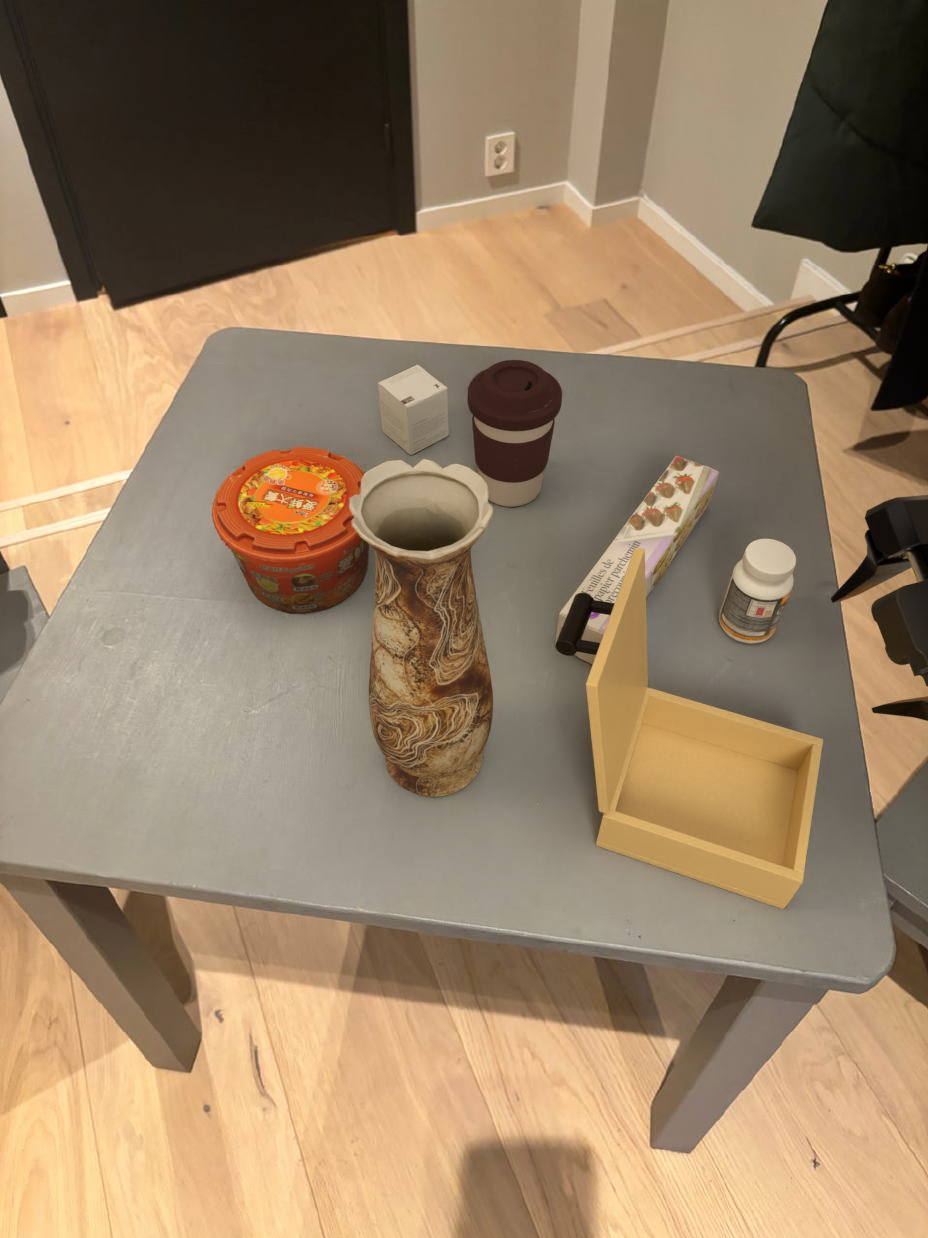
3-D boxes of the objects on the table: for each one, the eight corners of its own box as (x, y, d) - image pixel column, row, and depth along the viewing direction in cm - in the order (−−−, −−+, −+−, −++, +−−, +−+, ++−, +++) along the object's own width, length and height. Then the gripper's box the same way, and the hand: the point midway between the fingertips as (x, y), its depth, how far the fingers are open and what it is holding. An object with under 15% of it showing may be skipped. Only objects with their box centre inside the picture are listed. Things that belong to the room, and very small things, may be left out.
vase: (376, 806, 78) (339, 570, 55) (375, 705, 84) (342, 456, 62) (496, 799, 78) (509, 561, 55) (485, 698, 85) (493, 450, 62)
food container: (217, 625, 91) (192, 551, 82) (246, 515, 101) (227, 439, 93) (374, 629, 90) (365, 555, 82) (388, 518, 101) (381, 443, 92)
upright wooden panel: (645, 548, 67) (588, 540, 69) (597, 686, 59) (533, 674, 61) (648, 683, 79) (599, 674, 81) (608, 814, 71) (555, 801, 72)
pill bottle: (779, 646, 89) (809, 579, 81) (721, 645, 89) (745, 578, 81) (768, 603, 93) (795, 534, 85) (712, 602, 93) (735, 533, 85)
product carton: (420, 412, 113) (417, 362, 107) (450, 436, 110) (449, 386, 104) (380, 431, 111) (376, 381, 105) (410, 457, 107) (407, 406, 102)
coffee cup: (450, 481, 105) (448, 371, 93) (516, 448, 108) (522, 339, 97) (502, 529, 100) (508, 419, 88) (570, 493, 103) (583, 383, 92)
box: (600, 670, 87) (607, 634, 83) (552, 647, 89) (557, 610, 85) (710, 507, 102) (721, 469, 98) (667, 490, 104) (676, 452, 99)
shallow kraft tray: (805, 770, 80) (823, 738, 76) (783, 910, 72) (803, 882, 68) (634, 718, 84) (643, 685, 79) (595, 845, 75) (602, 815, 71)
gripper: (915, 460, 57) (744, 554, 70) (1032, 748, 52) (827, 790, 66) (1016, 455, 62) (839, 543, 75) (1130, 716, 58) (921, 760, 71)
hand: (854, 654), depth 72 cm, fingers open, 9 cm apart
